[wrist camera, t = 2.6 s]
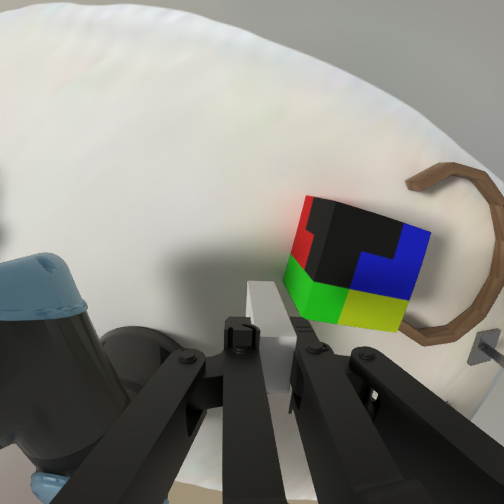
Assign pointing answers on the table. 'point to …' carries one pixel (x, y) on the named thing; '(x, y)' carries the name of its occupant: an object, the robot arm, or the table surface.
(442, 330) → the rim
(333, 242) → the puzzle toy
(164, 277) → the table surface
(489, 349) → the dial gauge stand
